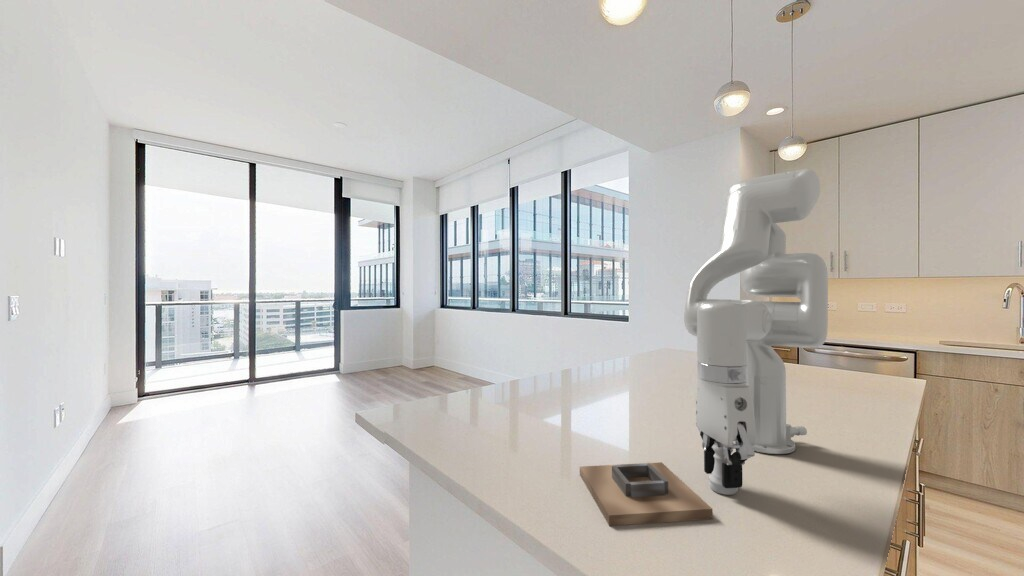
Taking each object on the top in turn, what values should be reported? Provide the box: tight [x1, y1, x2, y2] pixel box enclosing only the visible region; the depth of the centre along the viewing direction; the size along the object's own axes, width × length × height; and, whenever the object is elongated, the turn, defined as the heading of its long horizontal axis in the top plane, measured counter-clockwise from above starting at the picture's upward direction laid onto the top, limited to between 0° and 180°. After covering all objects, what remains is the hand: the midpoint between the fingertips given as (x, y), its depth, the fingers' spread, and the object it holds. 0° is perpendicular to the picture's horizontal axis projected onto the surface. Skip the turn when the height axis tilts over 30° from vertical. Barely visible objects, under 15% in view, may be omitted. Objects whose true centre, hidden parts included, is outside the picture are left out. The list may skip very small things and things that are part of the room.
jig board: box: [579, 461, 714, 527], centre depth 66 cm, size 16×16×4 cm
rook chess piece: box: [708, 441, 738, 496], centre depth 68 cm, size 4×4×8 cm
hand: (722, 478), depth 68 cm, fingers closed on rook chess piece, 4 cm apart
